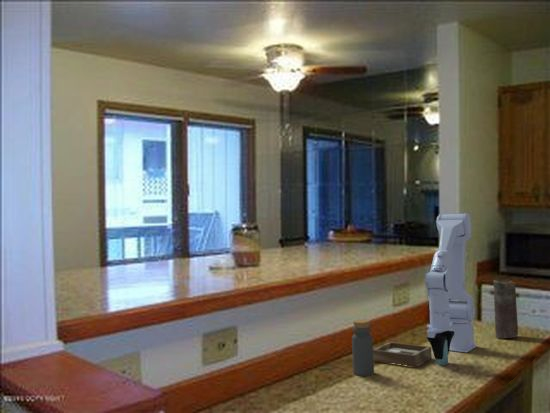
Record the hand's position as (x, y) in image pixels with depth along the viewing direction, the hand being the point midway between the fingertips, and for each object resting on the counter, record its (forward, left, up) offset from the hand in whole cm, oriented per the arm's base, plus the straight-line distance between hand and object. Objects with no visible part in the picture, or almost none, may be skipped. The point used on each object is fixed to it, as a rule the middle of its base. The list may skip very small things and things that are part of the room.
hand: (441, 357), depth 169 cm
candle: (-42, +6, -2) cm, 42 cm away
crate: (+2, -12, -2) cm, 12 cm away
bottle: (+20, -15, -2) cm, 25 cm away
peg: (0, 0, -2) cm, 2 cm away
